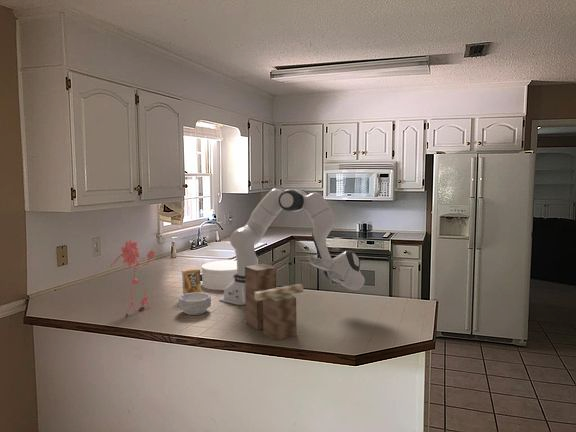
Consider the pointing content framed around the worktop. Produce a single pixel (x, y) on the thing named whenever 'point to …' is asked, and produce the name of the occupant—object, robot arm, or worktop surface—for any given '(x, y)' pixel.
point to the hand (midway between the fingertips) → (315, 259)
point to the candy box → (191, 281)
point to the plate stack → (218, 274)
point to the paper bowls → (194, 303)
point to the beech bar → (278, 292)
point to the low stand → (280, 317)
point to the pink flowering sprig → (130, 257)
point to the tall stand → (257, 281)
